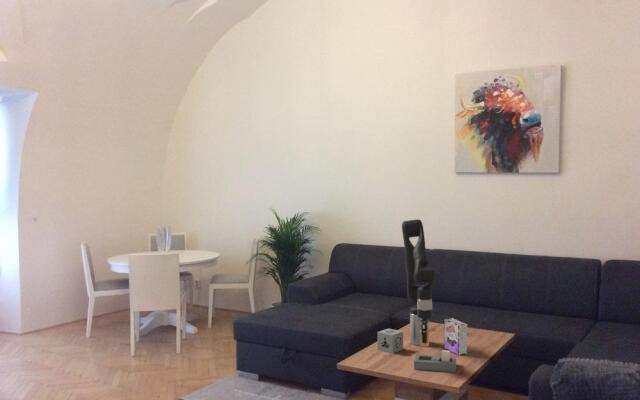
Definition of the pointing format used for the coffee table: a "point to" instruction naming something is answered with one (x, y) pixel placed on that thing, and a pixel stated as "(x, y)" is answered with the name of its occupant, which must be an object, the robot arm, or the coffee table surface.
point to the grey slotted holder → (436, 362)
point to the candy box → (455, 336)
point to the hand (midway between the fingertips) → (424, 341)
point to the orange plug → (427, 339)
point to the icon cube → (390, 340)
